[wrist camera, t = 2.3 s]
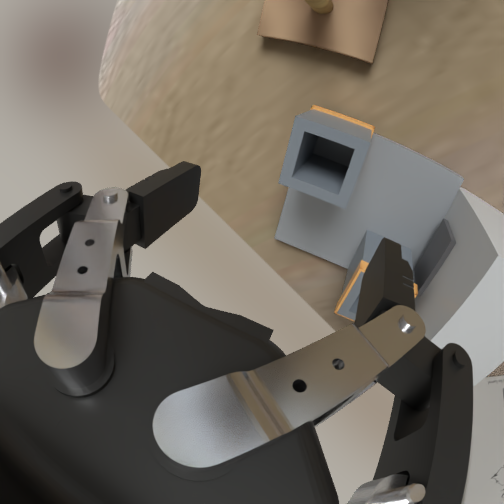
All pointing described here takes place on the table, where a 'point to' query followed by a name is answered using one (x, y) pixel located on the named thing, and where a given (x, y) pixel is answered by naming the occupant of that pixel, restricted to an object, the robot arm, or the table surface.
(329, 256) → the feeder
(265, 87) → the table surface
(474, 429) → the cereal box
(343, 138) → the sleeve
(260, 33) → the pin board
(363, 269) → the sleeve
